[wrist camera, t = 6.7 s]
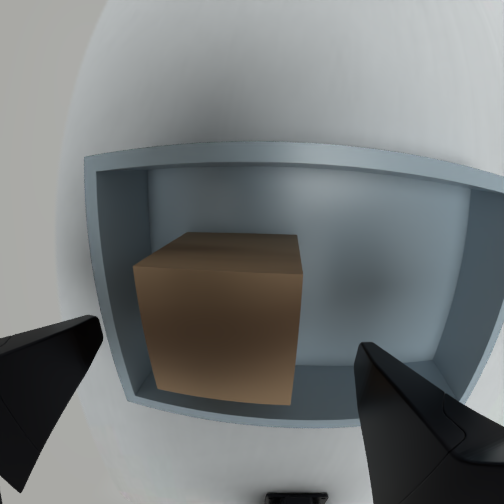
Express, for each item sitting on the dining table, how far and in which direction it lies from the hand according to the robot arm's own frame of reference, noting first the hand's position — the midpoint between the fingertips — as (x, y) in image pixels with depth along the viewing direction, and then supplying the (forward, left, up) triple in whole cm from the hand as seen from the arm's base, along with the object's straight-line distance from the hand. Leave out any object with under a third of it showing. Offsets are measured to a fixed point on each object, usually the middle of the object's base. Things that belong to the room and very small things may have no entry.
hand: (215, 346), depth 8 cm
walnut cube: (0, 0, -5) cm, 5 cm away
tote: (+1, -3, -6) cm, 7 cm away
